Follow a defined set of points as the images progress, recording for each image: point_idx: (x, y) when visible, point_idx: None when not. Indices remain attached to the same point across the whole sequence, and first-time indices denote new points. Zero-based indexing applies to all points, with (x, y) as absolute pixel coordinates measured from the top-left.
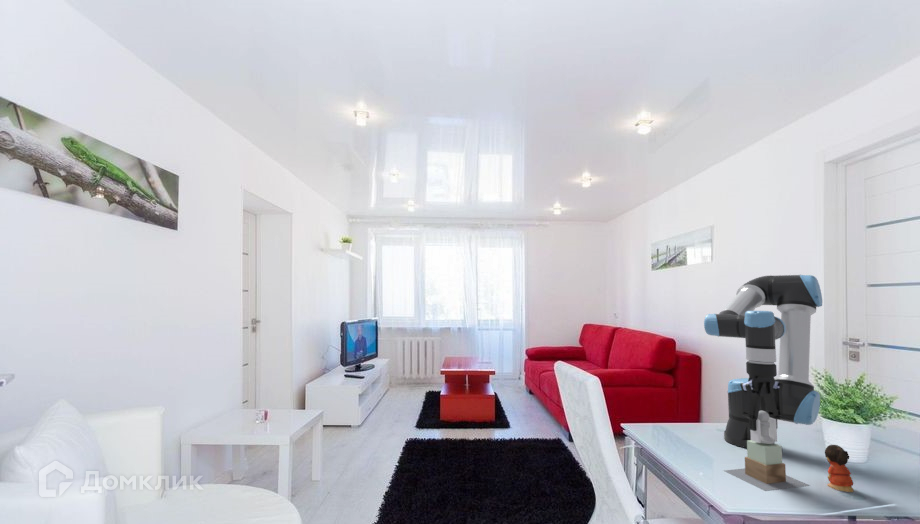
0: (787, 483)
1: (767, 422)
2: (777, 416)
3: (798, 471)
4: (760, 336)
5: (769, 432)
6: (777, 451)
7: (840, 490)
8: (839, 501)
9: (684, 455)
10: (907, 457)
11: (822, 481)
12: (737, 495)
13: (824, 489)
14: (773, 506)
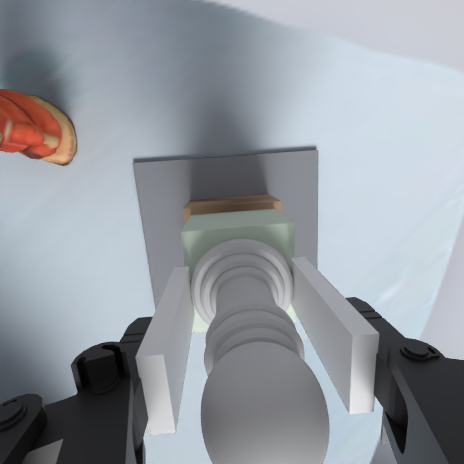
0: (197, 186)
1: (251, 330)
2: (105, 380)
3: (69, 271)
4: None
5: (188, 319)
6: (210, 224)
7: (59, 112)
8: (132, 51)
9: (329, 405)
10: None
11: (53, 194)
12: (416, 145)
13: (101, 139)
14: (379, 59)
